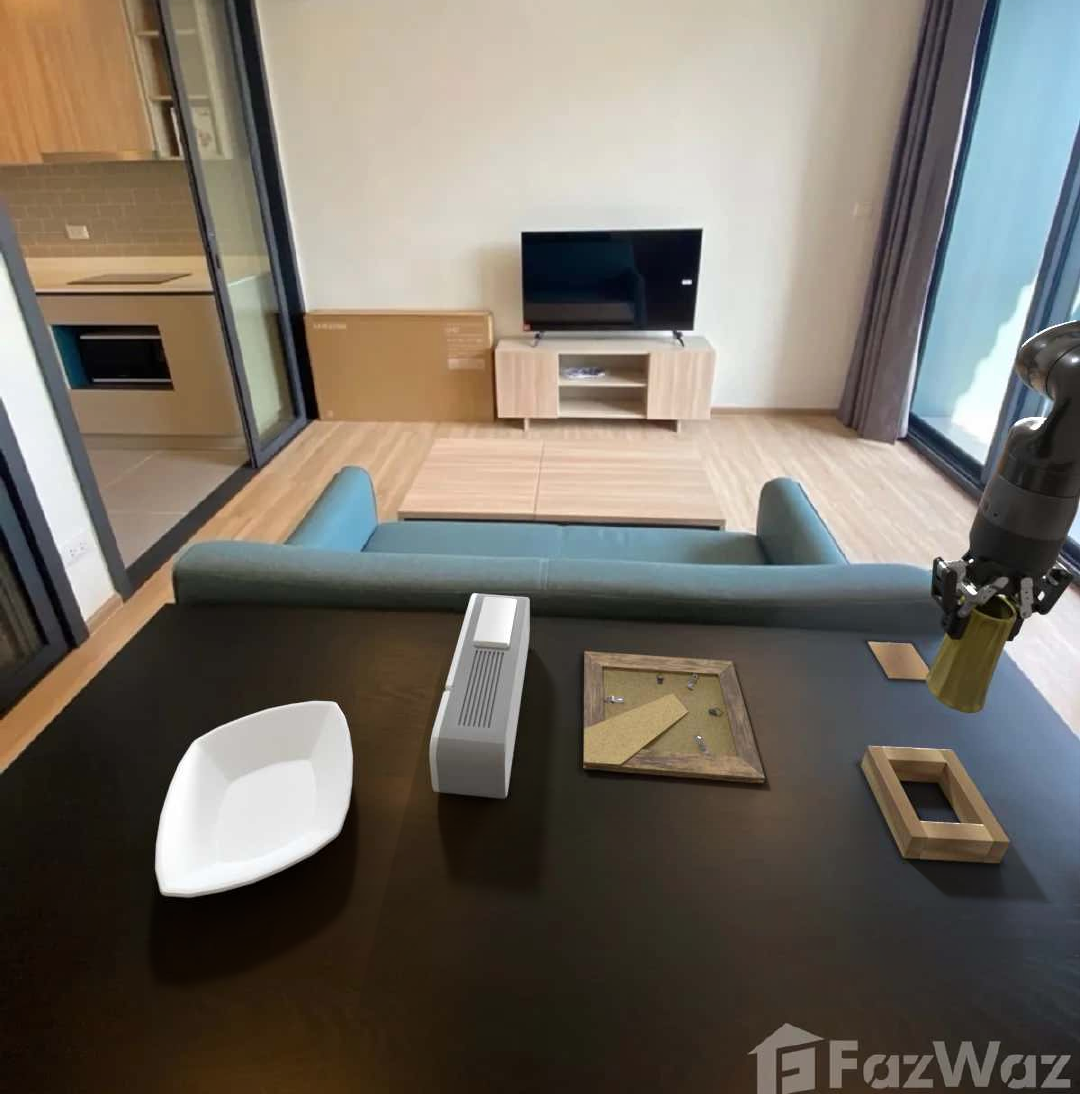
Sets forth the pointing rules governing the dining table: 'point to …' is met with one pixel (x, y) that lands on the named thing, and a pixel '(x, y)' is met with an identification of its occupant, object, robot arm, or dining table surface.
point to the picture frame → (667, 718)
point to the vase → (972, 656)
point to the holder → (978, 825)
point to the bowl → (254, 799)
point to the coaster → (900, 660)
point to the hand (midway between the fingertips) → (976, 634)
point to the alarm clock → (482, 699)
